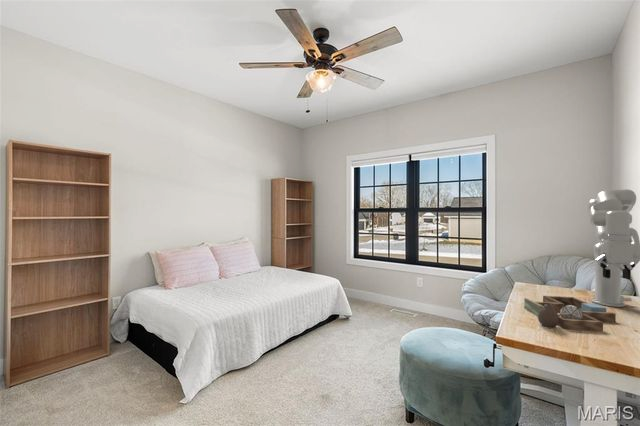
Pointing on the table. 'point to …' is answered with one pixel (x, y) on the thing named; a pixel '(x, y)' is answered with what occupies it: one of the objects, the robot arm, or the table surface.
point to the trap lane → (589, 323)
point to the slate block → (592, 307)
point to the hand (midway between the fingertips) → (616, 277)
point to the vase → (548, 316)
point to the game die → (571, 312)
